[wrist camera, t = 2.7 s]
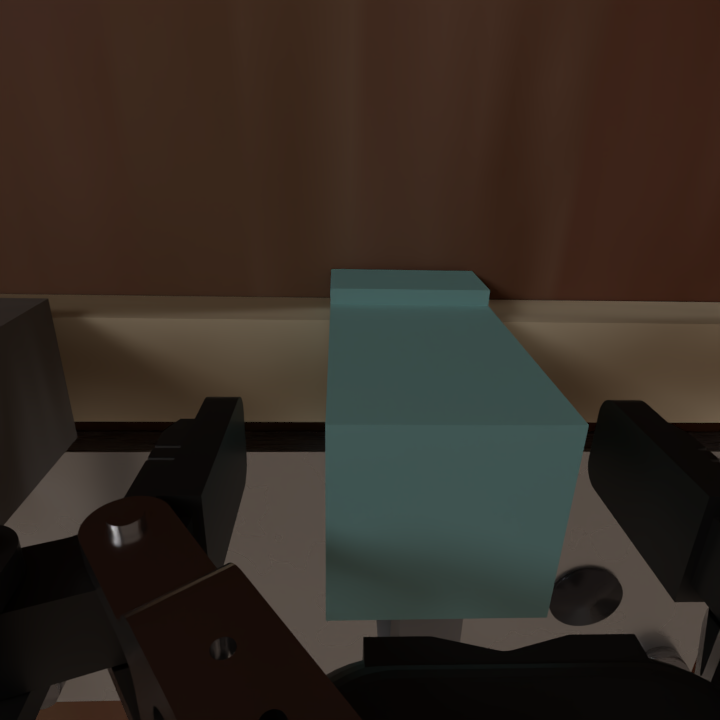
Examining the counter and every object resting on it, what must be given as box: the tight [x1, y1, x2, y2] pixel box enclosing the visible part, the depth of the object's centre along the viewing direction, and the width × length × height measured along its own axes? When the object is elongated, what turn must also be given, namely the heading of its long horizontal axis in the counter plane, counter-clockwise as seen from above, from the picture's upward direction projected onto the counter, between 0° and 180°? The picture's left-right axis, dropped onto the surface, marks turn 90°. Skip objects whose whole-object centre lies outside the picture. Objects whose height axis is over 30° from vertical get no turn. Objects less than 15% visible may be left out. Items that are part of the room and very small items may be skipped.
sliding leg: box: [325, 269, 589, 642], centre depth 14 cm, size 12×4×8 cm, turn 179°
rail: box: [0, 294, 720, 525], centre depth 14 cm, size 12×28×8 cm, turn 89°
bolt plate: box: [4, 431, 720, 709], centre depth 19 cm, size 11×26×2 cm, turn 89°
